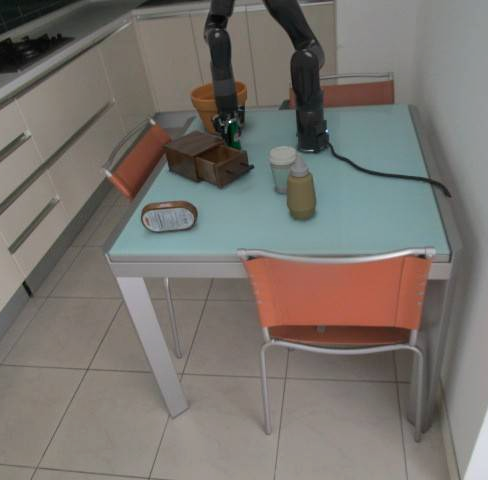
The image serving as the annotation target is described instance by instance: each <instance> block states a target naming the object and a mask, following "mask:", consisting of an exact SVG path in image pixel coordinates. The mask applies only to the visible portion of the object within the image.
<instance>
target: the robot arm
mask: <svg viewBox="0 0 488 480" xmlns="http://www.w3.org/2000/svg"><path fill="white" fill-rule="evenodd" d="M261 2H262V4H263V6H264V8H265V9H266V11H267V12H268V14H269V15H270V17H271V18H272V19H273V20H274V21H275V22H276V23H277V24H278V25H279V26H280V28H282V29H283V31H284V32H285V34H286V35H287V37H288V38H289V40H290V42H291V45H292V46H293V49H294V52H293V53H292V54H291V56H290V60H289V72H290V81H291V89H292V92H293V94H294V105H295V106H294V107H295V122H296V123H295V125H296V133H295V135H296V139H297V150H298V151H300V152H303V153H311V154H313V153H314V154H318V153H319V152H321V151H322V150H324V149H326V148H327V147H329V149H330V152H331V154H332V156H334V157H335V158H336V159H339V160H341V161H345V162H347V163H348V164H350V165H351V166H352V167H353V168H355V169H356V170H358V171H361V172H364V173H367V174H371V175H375V176H380V177H386V178H387V177H388V178H398V179H405V180H414V181H415V180H417V181H423V182H427V183H430V184H433V185H436V186H438V187H440V188H441V189H442V190H443V191H444V193H445V194H446V196H447V198H449V199H451V198H452V194H451V193H450V190H448V187H446V185H444V184H443V183H442V182H440V181H437V180H435V179H431V178H428V177H424V176H417V175H407V174H397V173H387V172H381V171H376V170H371V169H367V168H364V167H362V166H360V165H357V164H356V163H354V161H352V160H350V159H349V158H347V157H344V156H341V155H338V154H337V153H336V152H335V149H334V146H333V145H332V143H331V142H330V134H329V133H328V121H327V119H325V98H324V97H325V95H324V88H323V86H322V85H321V78H320V77H321V76H320V71H321V70H322V69H323V68H324V65H325V64H326V63H325V62H326V53H325V50H324V48H323V46H322V45H321V43H320V41H319V39H318V38H317V36H316V34H315V32H313V30H312V28H311V25H310V24H309V22H308V21H307V19H306V16H305V14H304V12H303V10H302V6H300V2H299V1H298V0H261ZM235 5H236V0H210V4H209V9H208V13H207V16H206V19H205V21H204V22H205V23H204V27H203V41H204V43H205V44H206V45H207V46H208V49H209V55H210V61H209V70H210V76H211V83H212V87H213V93H214V99H215V105H216V107H217V110H218V111H217V115H216V116H215V117H211V121H212V124H213V126H214V129H215V131H216V132H217V133H220V134H219V135H220V136H221V139H224V140H225V143H229V138H228V133H227V129H228V126H229V121H230V118H233V117H235V118H236V119H237V124H238V131H239V138H241V137H242V136H241V135H242V127H241V128H240V126H241V124H242V123H243V124H244V123H245V121H246V119H245V117H246V105H245V106H244V105H240V104H239V105H237V104H238V98H237V91H236V83H235V81H236V80H235V75H234V68H233V63H232V58H233V57H232V49H233V48H232V39H231V36H230V33H229V31H228V30H227V28H228V24H229V20H230V18H231V17H232V16H233V14H234V11H235ZM219 118H220V120H219ZM222 121H223V122H226V123H225V124H224V123H222ZM223 126H224V129H223Z"/></svg>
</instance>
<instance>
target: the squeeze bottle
mask: <svg viewBox="0 0 488 480" xmlns="http://www.w3.org/2000/svg"><path fill="white" fill-rule="evenodd" d="M309 170H310V168H309V165H308V164H306V163H304V160H303V156H302V153H300V152H297V154H296V159H295V164H294V165H292V166H291V168H290V171H291V173H290V174H289V175H288V178H287V193H286V207H287V209H288V210H289V213H290V215H291V216H292V218H293V219H295V220H298V221H304V220H308V219H310V218H312V217H313V215H314V213H315V210H316V207H317V202H318V201H317V195H316V188H315V181H314V176H313V174H312V173H311V172H310V171H309Z"/></svg>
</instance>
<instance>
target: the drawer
mask: <svg viewBox="0 0 488 480" xmlns="http://www.w3.org/2000/svg"><path fill="white" fill-rule="evenodd" d="M195 162H196V166H197V171H198V176H199V177H200V178H203V179H204V180H205V181H206V182H207V181H208V182H210V183H212V184H215V185H217V188H218V189H219V190H221V189H223V188H225V187H227V186H228V185H230V184H232V183H234V182H236V181H237V180H239V179H241V178H242V177H244V176H245V175H247V174H249V173H250V172H251V171H252V170H254V169H255V164H253V163H252V164H249V163H250V162H249V156H248V150H246V149H243V150H242V151H241V150H237V149H234V148H231V147H228V146H225V145H222V144H221V145H219V146H217V147H215V148H213V149H211V150H209V151H207V152H205V153H203V154H201V155H199V156H197V157H195Z"/></svg>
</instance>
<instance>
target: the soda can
mask: <svg viewBox="0 0 488 480" xmlns="http://www.w3.org/2000/svg"><path fill="white" fill-rule="evenodd" d="M222 123H224V124H225V123H226V122H223V121H222ZM223 129H224V126H223ZM227 133H228V138H229V143H226V146H228V147H231V148H234V149H237V150H239V151H241V149H242V146H241V139H240V138H241V137H239V131H238V124H237V119H236V118H235V117H233V118H230V121H229V126H228V129H227Z"/></svg>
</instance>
